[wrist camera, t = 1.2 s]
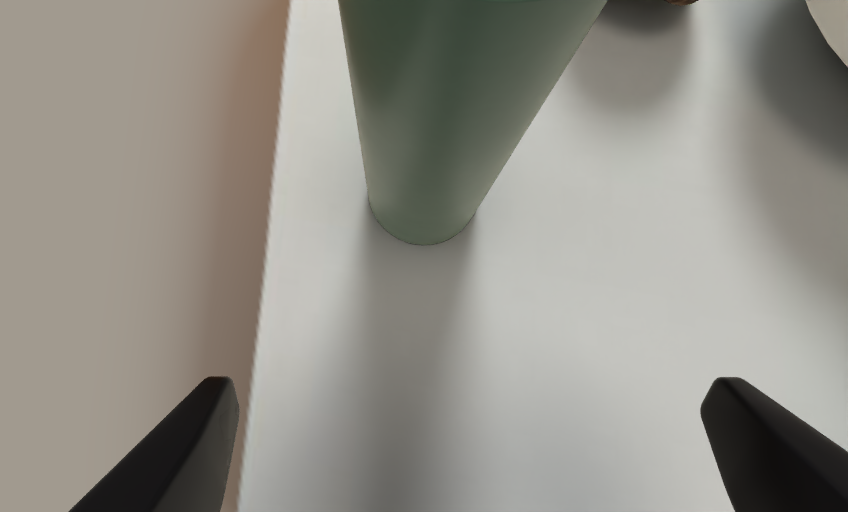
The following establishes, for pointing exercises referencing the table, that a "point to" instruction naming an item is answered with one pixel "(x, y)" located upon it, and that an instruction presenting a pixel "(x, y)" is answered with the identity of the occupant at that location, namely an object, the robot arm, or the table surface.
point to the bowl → (832, 23)
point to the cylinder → (450, 98)
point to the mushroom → (681, 2)
